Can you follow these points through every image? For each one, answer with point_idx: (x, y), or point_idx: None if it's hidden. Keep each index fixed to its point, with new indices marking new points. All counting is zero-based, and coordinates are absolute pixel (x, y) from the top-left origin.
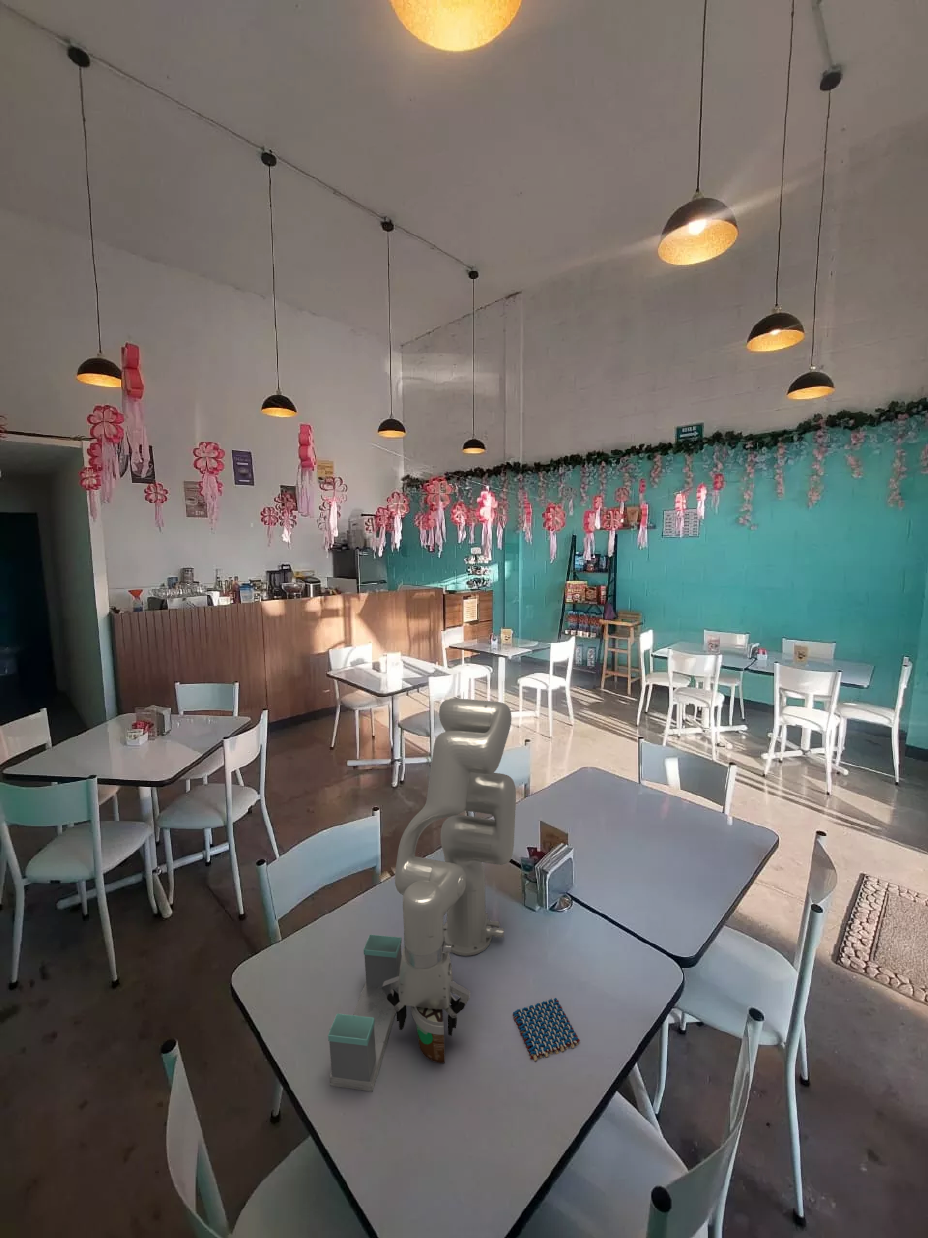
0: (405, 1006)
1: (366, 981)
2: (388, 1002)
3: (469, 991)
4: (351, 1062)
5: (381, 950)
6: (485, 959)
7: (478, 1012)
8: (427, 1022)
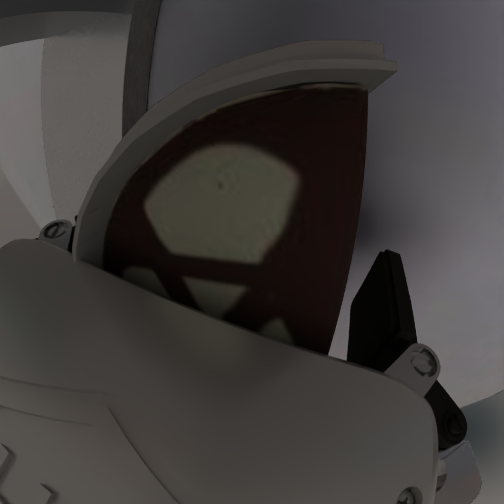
0: None
1: (35, 39)
2: (102, 76)
3: (473, 497)
4: None
5: None
6: None
7: (497, 134)
8: None
